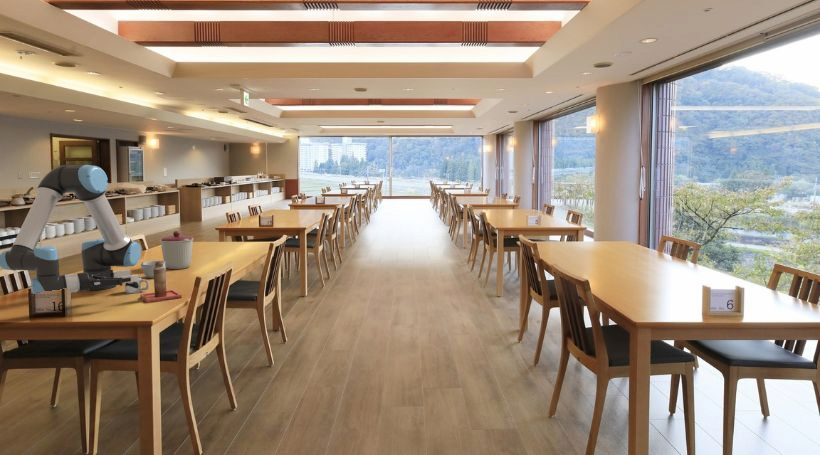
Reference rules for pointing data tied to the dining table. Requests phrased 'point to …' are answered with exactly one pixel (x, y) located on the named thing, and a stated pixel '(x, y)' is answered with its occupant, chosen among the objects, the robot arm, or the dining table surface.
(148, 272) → the teacup
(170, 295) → the tray
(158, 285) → the pepper mill
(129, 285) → the mug
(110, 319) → the dining table surface
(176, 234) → the canister
